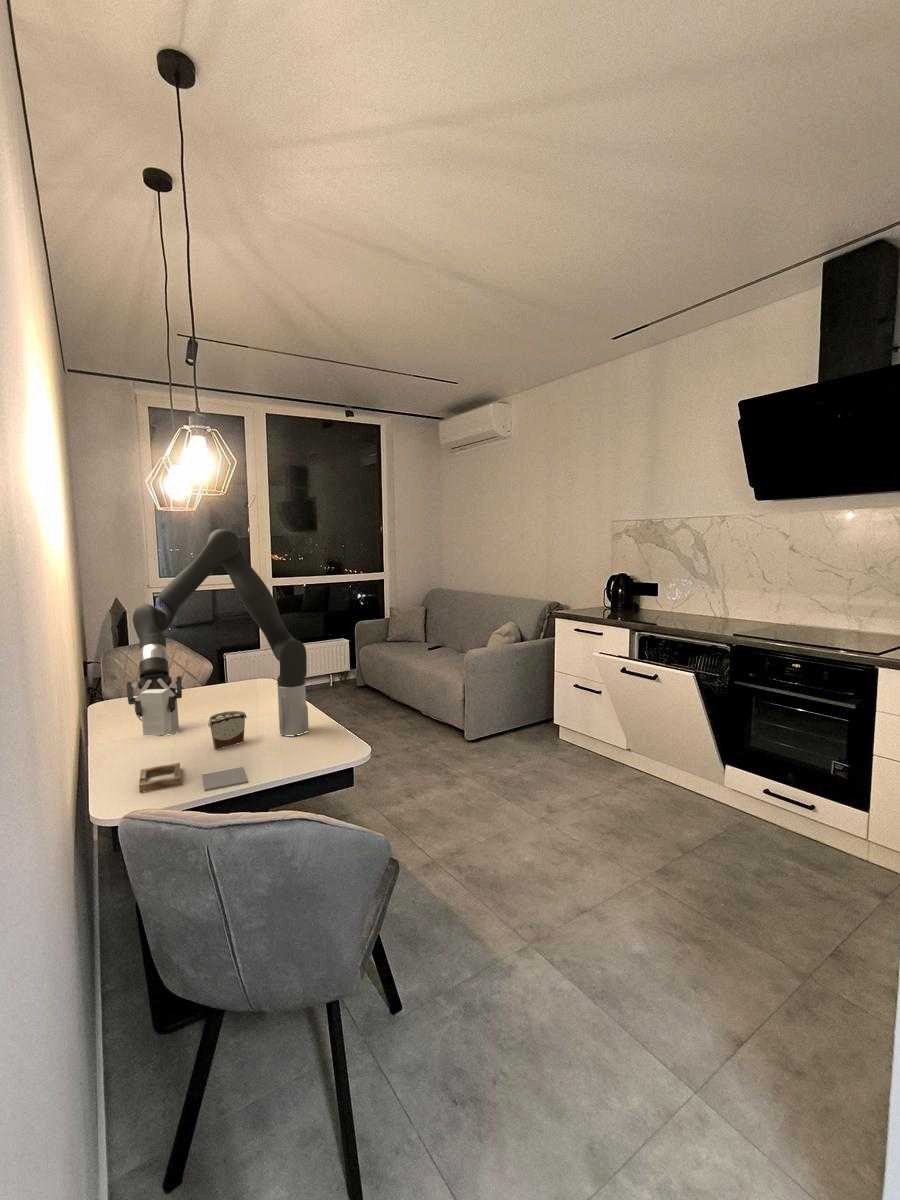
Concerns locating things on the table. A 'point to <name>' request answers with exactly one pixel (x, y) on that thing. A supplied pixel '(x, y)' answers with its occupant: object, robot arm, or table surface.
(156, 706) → the skincare box
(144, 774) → the walnut holder
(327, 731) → the table surface
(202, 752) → the table surface
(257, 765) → the table surface
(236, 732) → the food container
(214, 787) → the rubber pad
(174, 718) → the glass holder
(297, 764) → the table surface
